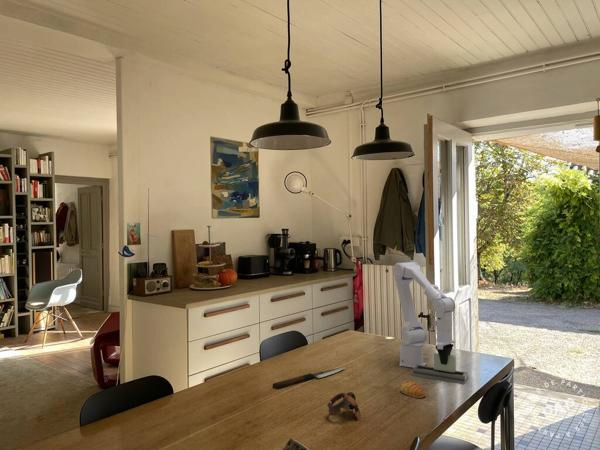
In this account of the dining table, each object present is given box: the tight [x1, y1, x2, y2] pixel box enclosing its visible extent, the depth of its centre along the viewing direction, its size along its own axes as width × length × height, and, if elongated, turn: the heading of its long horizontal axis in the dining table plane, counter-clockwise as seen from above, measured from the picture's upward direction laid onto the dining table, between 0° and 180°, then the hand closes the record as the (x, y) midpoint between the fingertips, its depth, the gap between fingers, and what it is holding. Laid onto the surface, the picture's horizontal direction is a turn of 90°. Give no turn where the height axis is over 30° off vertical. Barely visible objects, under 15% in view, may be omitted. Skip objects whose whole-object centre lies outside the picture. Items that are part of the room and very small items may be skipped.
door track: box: [411, 365, 469, 385], centre depth 180 cm, size 20×8×2 cm, turn 58°
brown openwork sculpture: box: [326, 391, 362, 422], centre depth 145 cm, size 12×10×8 cm
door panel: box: [433, 352, 457, 373], centre depth 179 cm, size 8×2×6 cm, turn 58°
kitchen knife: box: [272, 367, 346, 390], centre depth 180 cm, size 36×2×5 cm
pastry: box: [399, 380, 427, 399], centre depth 162 cm, size 9×7×4 cm
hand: (444, 363), depth 179 cm, fingers closed on door panel, 2 cm apart
